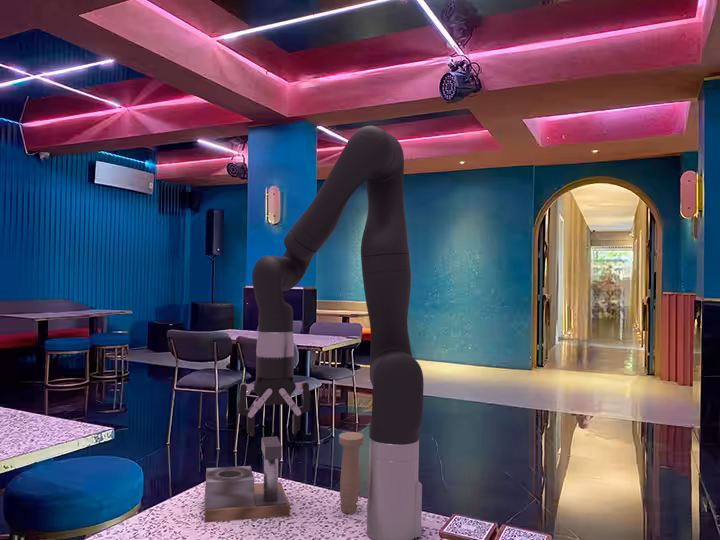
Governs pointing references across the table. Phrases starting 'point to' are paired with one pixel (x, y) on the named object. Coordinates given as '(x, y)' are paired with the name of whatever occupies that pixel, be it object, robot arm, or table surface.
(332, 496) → the table surface
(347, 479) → the handle
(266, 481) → the hammer
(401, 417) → the robot arm
